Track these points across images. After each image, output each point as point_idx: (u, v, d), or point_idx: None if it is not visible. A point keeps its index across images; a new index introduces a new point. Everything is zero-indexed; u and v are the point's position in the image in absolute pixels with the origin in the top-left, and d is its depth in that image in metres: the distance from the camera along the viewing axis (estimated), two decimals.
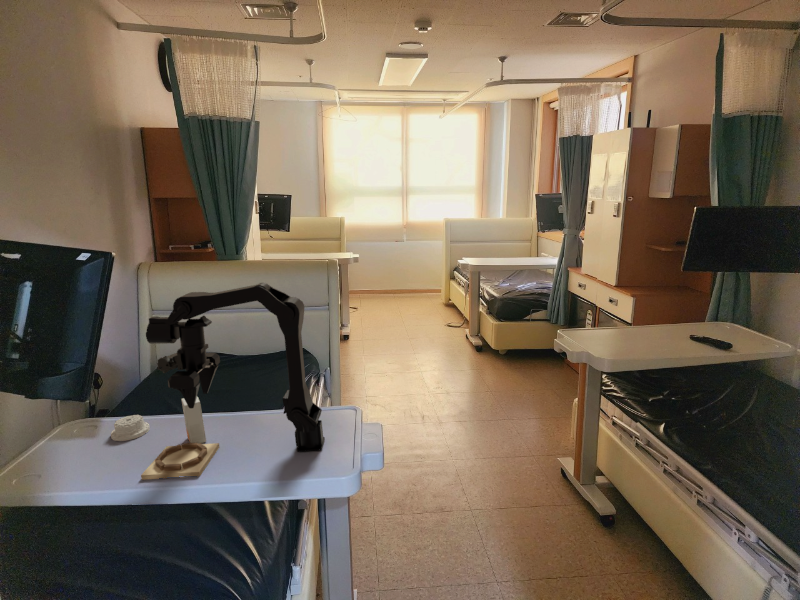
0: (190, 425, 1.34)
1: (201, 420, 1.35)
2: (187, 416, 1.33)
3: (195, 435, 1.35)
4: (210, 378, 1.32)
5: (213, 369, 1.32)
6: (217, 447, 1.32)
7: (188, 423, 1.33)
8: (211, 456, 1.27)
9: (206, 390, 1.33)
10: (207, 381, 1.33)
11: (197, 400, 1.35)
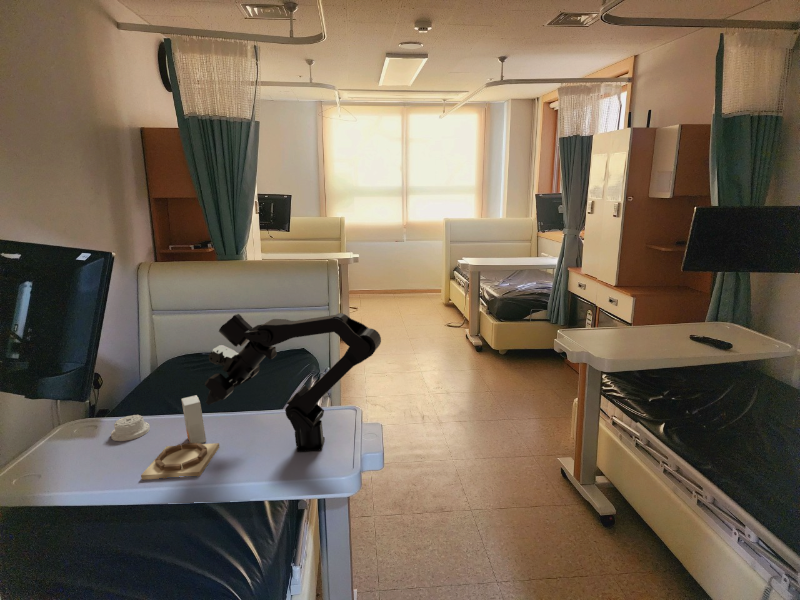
0: (190, 425, 1.34)
1: (201, 420, 1.35)
2: (187, 416, 1.33)
3: (195, 435, 1.35)
4: (239, 383, 1.37)
5: (246, 379, 1.37)
6: (217, 447, 1.32)
7: (188, 423, 1.33)
8: (211, 456, 1.27)
9: None
10: (235, 383, 1.37)
11: (197, 400, 1.35)
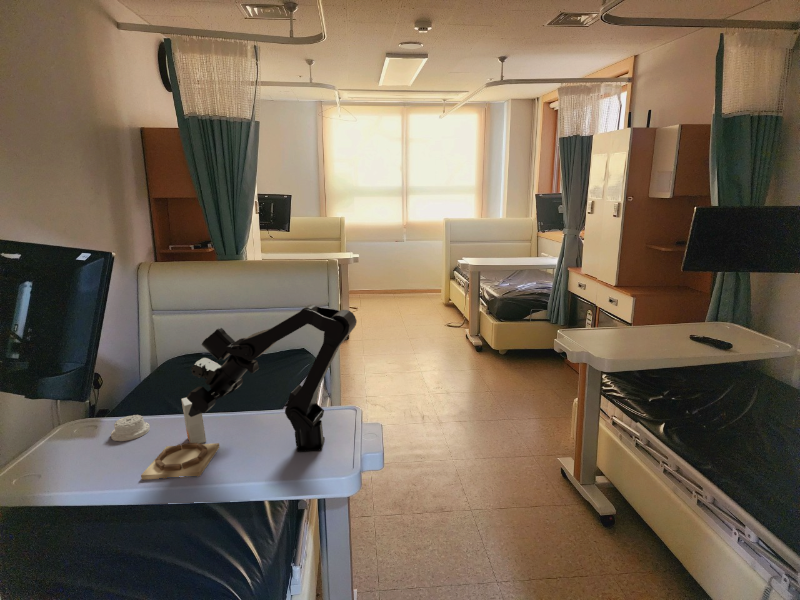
0: (190, 425, 1.34)
1: (201, 420, 1.35)
2: (187, 416, 1.33)
3: (195, 435, 1.35)
4: (222, 395, 1.39)
5: (230, 391, 1.39)
6: (217, 447, 1.32)
7: (188, 423, 1.33)
8: (211, 456, 1.27)
9: None
10: (218, 395, 1.39)
11: None
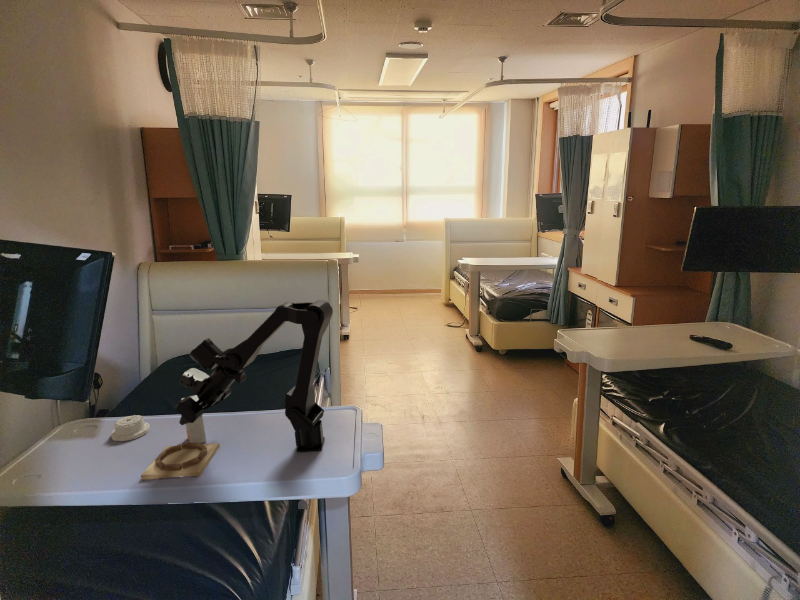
0: (190, 425, 1.34)
1: (201, 420, 1.35)
2: None
3: (195, 435, 1.35)
4: (209, 406, 1.39)
5: (217, 402, 1.39)
6: (217, 447, 1.32)
7: (188, 423, 1.33)
8: (211, 456, 1.27)
9: None
10: (205, 406, 1.40)
11: (197, 400, 1.35)
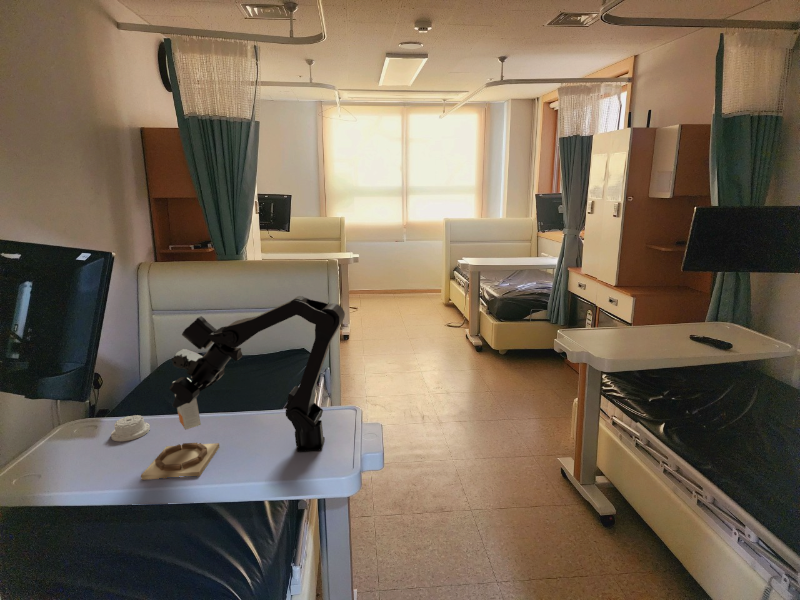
0: (184, 408, 1.29)
1: (195, 402, 1.31)
2: None
3: (190, 418, 1.30)
4: (202, 388, 1.35)
5: (210, 384, 1.35)
6: (217, 447, 1.32)
7: (182, 406, 1.29)
8: (211, 456, 1.27)
9: None
10: None
11: None
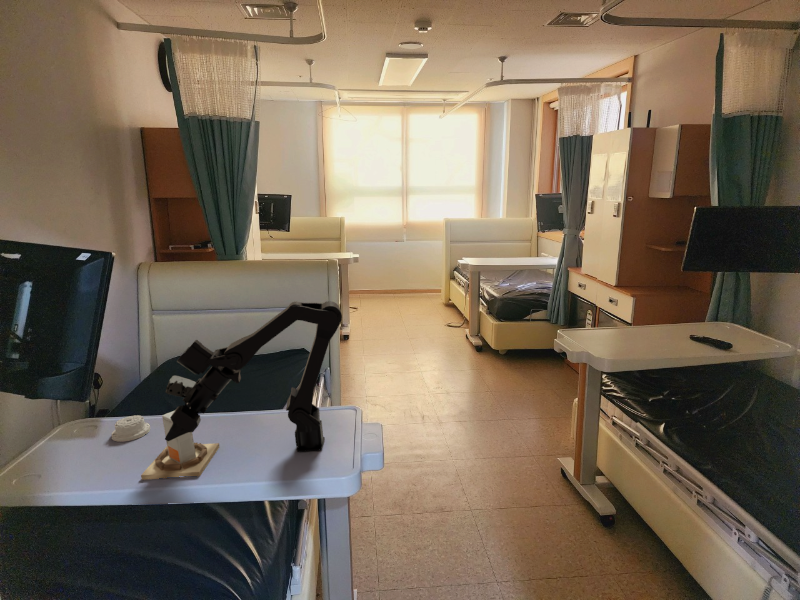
0: (180, 442, 1.22)
1: (191, 434, 1.24)
2: None
3: (186, 452, 1.23)
4: None
5: None
6: (217, 447, 1.32)
7: (178, 440, 1.22)
8: (211, 456, 1.27)
9: None
10: None
11: None
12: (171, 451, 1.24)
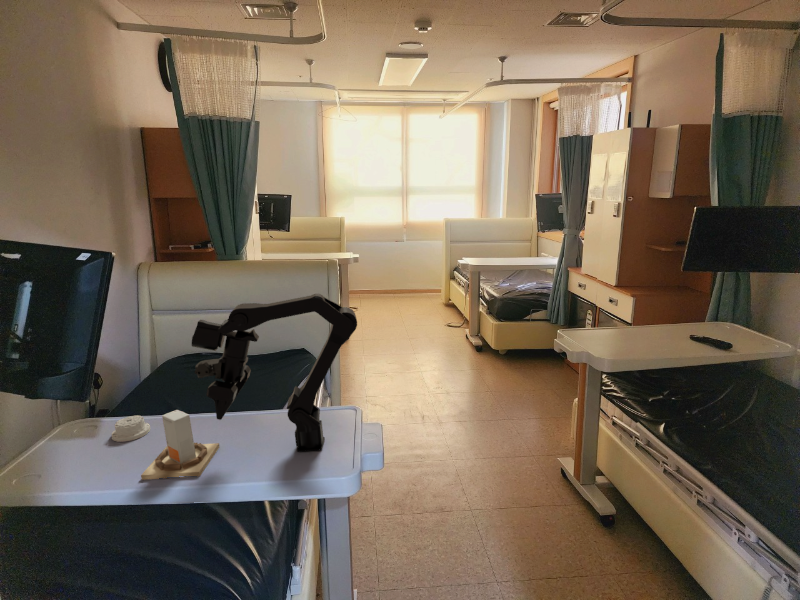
0: (180, 442, 1.22)
1: (191, 434, 1.24)
2: (177, 432, 1.21)
3: (186, 452, 1.23)
4: (238, 390, 1.30)
5: (243, 382, 1.30)
6: (217, 447, 1.32)
7: (178, 440, 1.22)
8: (211, 456, 1.27)
9: (231, 401, 1.30)
10: None
11: (184, 413, 1.24)
12: (171, 451, 1.24)
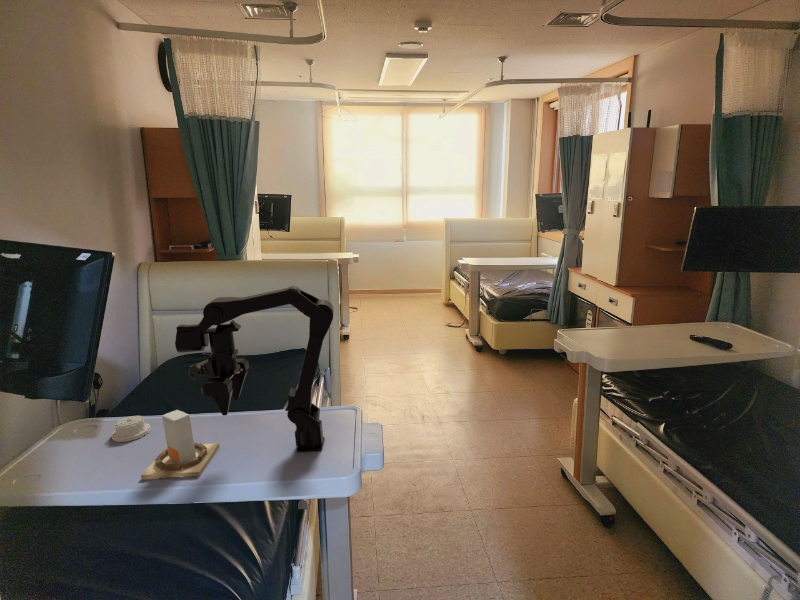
0: (180, 442, 1.22)
1: (191, 434, 1.24)
2: (177, 432, 1.21)
3: (186, 452, 1.23)
4: (240, 384, 1.30)
5: (243, 375, 1.30)
6: (217, 447, 1.32)
7: (178, 440, 1.22)
8: (211, 456, 1.27)
9: (237, 396, 1.31)
10: (238, 387, 1.31)
11: (184, 413, 1.24)
12: (171, 451, 1.24)
